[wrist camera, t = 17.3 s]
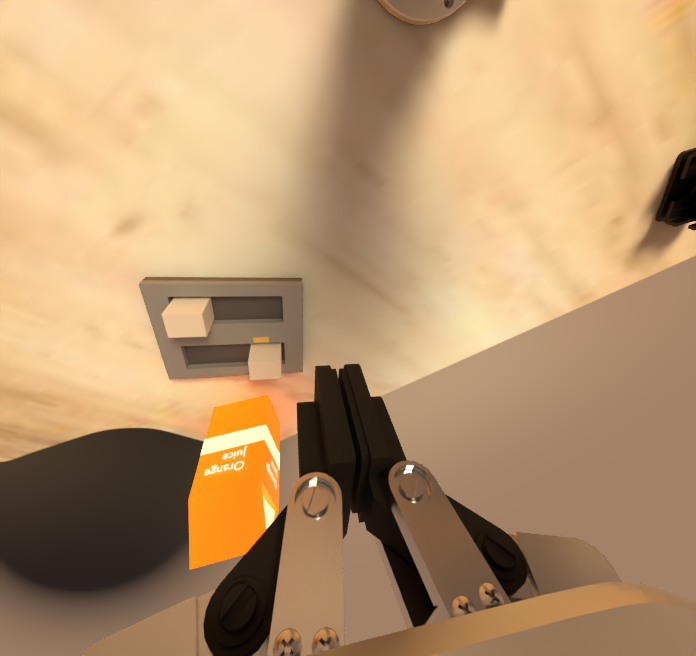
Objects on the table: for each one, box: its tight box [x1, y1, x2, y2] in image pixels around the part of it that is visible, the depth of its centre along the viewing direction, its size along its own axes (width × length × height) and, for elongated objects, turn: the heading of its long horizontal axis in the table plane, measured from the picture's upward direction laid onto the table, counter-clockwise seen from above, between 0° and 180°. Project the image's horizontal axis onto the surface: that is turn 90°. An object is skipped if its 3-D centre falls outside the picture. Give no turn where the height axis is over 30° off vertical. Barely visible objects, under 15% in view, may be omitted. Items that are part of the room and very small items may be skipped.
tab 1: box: [161, 297, 214, 338], centre depth 33 cm, size 4×3×4 cm
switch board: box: [139, 277, 303, 379], centre depth 38 cm, size 18×14×2 cm
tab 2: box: [248, 343, 282, 380], centre depth 38 cm, size 4×3×4 cm
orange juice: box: [188, 395, 280, 569], centre depth 40 cm, size 8×9×20 cm
